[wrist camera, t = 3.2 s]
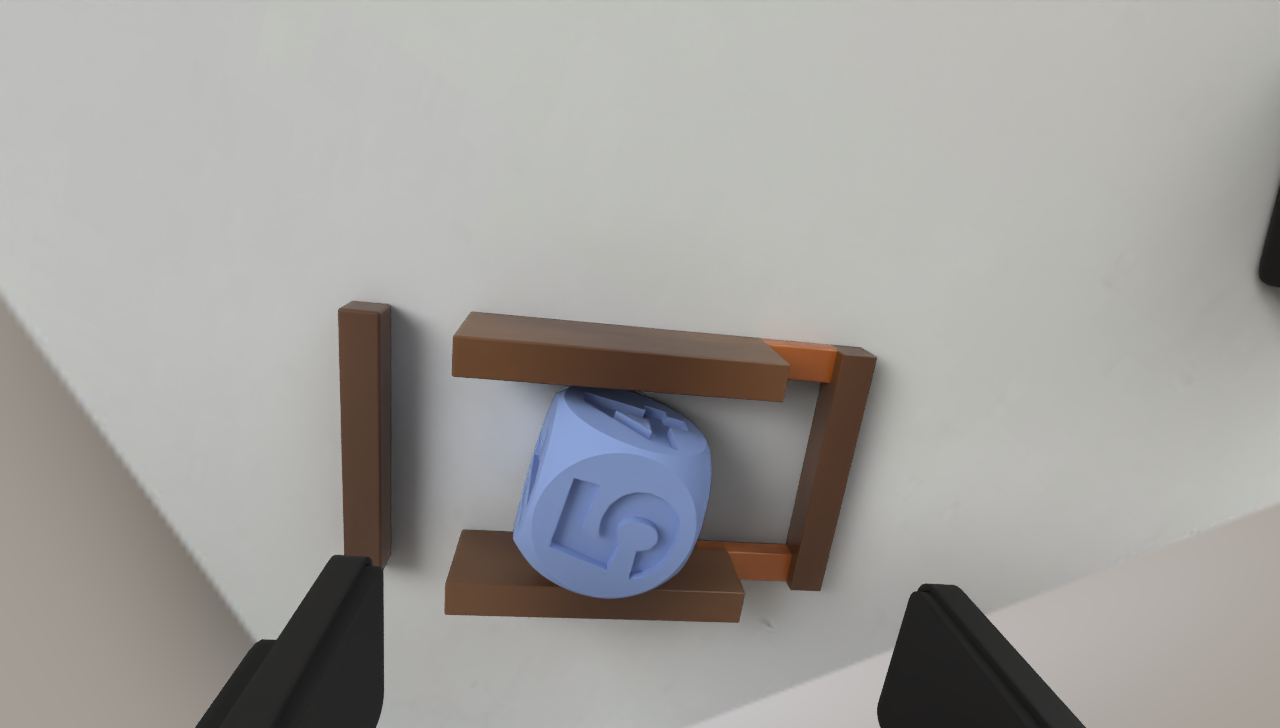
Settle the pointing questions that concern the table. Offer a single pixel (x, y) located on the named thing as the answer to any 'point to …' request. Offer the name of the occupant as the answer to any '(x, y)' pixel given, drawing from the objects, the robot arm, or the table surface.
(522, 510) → the decorative dice
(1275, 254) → the battery
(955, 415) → the table surface
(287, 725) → the robot arm
